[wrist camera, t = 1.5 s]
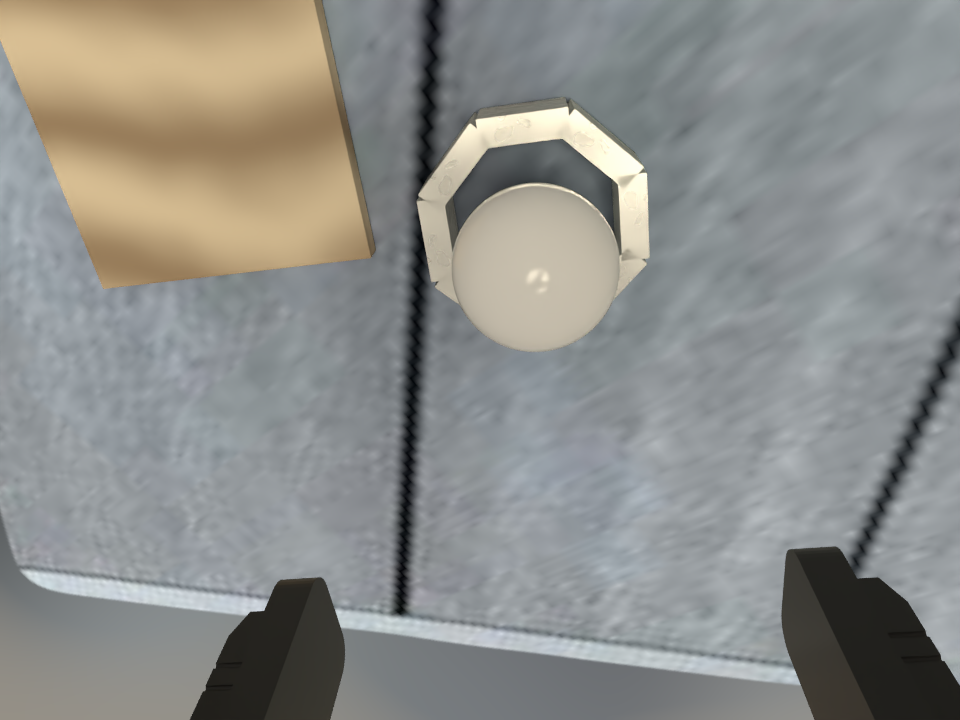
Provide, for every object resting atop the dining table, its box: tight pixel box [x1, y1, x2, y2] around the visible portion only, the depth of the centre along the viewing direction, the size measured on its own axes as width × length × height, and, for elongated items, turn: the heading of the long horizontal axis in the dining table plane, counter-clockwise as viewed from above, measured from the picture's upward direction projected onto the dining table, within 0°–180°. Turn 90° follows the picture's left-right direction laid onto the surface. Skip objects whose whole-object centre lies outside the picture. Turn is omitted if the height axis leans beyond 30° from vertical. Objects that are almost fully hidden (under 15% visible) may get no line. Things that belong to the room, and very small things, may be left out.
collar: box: [417, 97, 649, 305], centre depth 32 cm, size 10×10×3 cm
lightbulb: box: [452, 182, 620, 352], centre depth 29 cm, size 6×6×11 cm
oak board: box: [0, 0, 376, 289], centre depth 32 cm, size 14×14×1 cm
